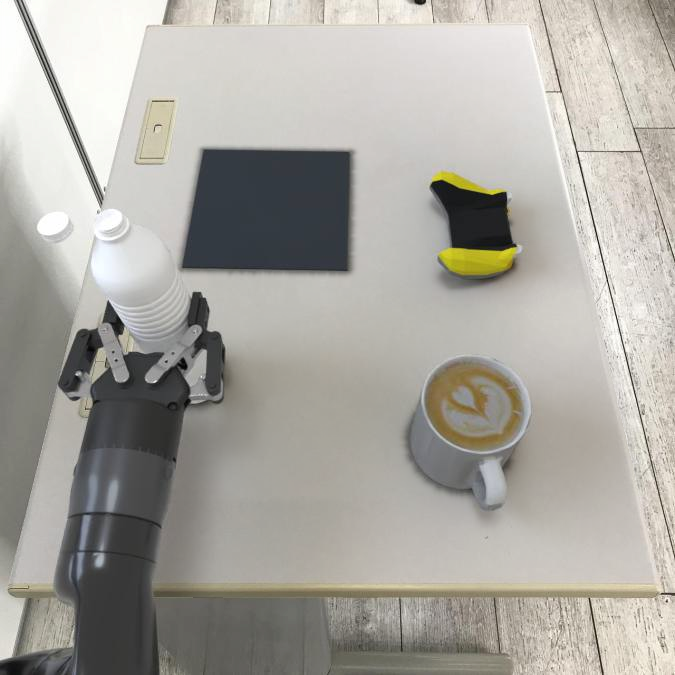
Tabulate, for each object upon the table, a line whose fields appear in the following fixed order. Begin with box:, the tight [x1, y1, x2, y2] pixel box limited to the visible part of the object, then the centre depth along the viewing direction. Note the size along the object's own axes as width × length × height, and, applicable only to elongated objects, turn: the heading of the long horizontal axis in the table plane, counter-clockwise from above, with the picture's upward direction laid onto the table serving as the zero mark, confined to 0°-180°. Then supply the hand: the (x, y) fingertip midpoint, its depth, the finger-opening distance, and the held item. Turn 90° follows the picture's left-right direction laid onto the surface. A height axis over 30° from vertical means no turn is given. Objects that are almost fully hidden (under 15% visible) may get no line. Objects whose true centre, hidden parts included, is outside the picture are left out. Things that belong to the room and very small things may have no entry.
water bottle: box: [36, 208, 207, 405], centre depth 59 cm, size 9×6×25 cm
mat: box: [181, 148, 350, 272], centre depth 82 cm, size 20×20×1 cm
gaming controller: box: [428, 170, 523, 280], centre depth 77 cm, size 15×6×10 cm
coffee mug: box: [409, 353, 532, 512], centre depth 61 cm, size 13×10×10 cm
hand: (161, 296), depth 59 cm, fingers closed on water bottle, 6 cm apart
